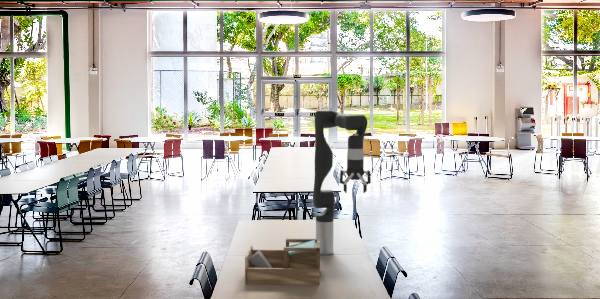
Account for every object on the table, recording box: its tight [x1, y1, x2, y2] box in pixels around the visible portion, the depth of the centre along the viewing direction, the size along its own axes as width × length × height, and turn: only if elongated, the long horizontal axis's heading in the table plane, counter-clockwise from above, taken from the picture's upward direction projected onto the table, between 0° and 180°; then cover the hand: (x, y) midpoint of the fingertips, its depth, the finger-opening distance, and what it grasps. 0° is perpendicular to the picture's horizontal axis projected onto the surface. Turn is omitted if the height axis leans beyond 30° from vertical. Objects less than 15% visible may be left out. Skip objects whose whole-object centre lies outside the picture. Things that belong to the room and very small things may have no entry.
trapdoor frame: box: [244, 238, 321, 286], centre depth 276 cm, size 20×33×16 cm, turn 87°
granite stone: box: [250, 250, 273, 268], centre depth 277 cm, size 5×5×11 cm
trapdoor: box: [289, 240, 316, 255], centre depth 275 cm, size 12×12×1 cm
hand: (354, 192), depth 280 cm, fingers open, 8 cm apart
